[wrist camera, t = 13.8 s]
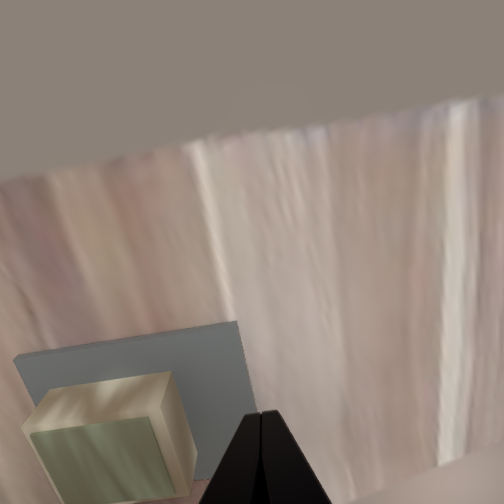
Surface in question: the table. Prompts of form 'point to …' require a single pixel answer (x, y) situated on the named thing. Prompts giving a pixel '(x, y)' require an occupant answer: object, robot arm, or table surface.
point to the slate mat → (162, 360)
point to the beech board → (114, 441)
